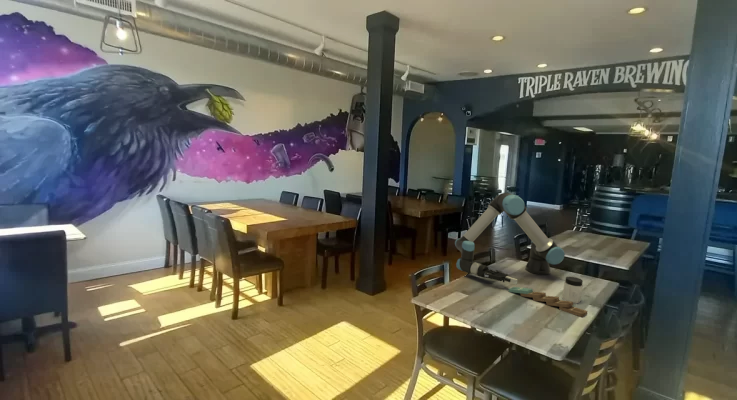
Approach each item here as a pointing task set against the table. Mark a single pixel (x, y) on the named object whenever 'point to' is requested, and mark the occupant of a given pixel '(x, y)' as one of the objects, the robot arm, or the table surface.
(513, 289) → the domino teal
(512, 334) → the table surface
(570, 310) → the domino
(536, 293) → the domino
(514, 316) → the table surface
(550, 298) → the domino
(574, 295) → the jar
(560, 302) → the domino
